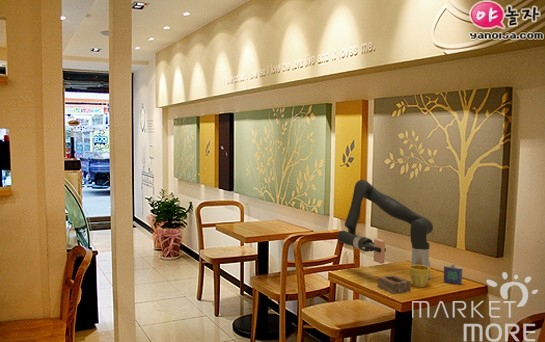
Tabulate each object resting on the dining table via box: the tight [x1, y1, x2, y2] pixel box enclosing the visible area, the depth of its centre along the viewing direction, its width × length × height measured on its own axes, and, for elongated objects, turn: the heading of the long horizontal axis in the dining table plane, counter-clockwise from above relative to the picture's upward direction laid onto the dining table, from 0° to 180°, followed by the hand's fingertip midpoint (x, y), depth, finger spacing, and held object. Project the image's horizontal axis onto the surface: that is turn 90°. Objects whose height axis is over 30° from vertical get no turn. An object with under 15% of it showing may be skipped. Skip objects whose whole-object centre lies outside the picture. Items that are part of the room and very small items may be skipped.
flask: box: [443, 263, 463, 286], centre depth 254 cm, size 9×3×11 cm, turn 63°
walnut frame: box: [377, 274, 412, 295], centre depth 244 cm, size 11×13×5 cm
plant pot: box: [408, 265, 431, 288], centre depth 250 cm, size 10×10×10 cm
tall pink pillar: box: [373, 238, 386, 265], centre depth 254 cm, size 2×6×12 cm, turn 26°
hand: (382, 250), depth 251 cm, fingers closed on tall pink pillar, 2 cm apart
